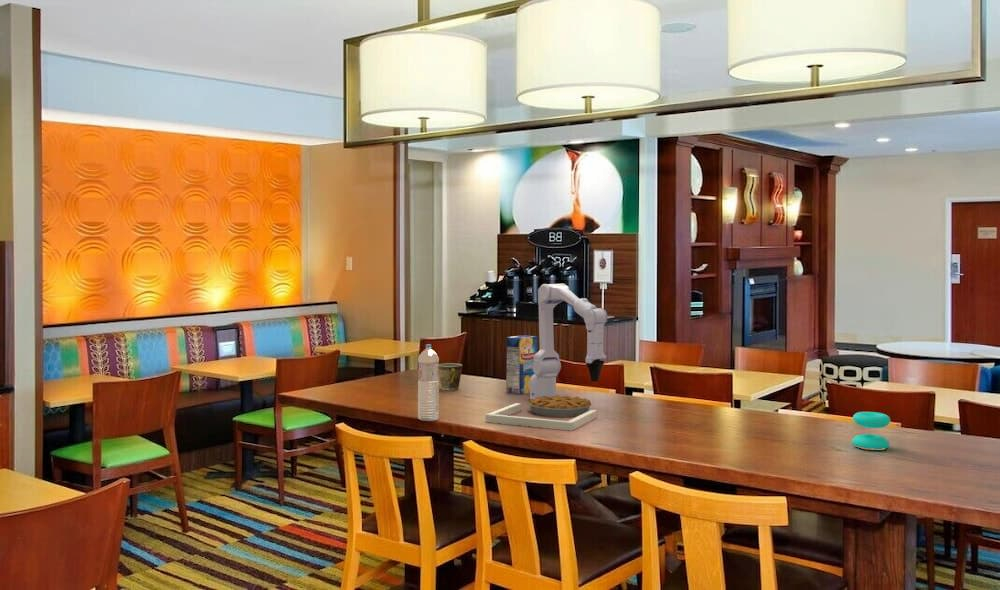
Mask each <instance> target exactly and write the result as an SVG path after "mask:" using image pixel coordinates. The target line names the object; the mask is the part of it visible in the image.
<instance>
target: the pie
mask: <svg viewBox="0 0 1000 590" xmlns="http://www.w3.org/2000/svg"><path fill="white" fill-rule="evenodd" d="M527 405H528V406H529V407H530V409H531V412H532V413H533V412H534V413H533V414H535V413H536V415H539V414H540V415H539V416H543V415H544V416H545V417H550V416H551V418H552V417H553V418H572V417H573V418H575V417H578V416H580V415H582V414H584V413H586V412H588V411H590V410H589V409H590V407H592V405H593V404H592V401H590V399H587V398H580V397H579V396H569V395H564V396H563V395H556V396H552V397H548V396H543V397H536V398H535V399H529V400H528V402H527ZM544 416H543V417H544Z"/></svg>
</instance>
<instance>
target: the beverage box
mask: <svg viewBox="0 0 1000 590" xmlns="http://www.w3.org/2000/svg"><path fill="white" fill-rule="evenodd" d="M537 352H538V336H537V335H525V334H524V335H515V336H506V358H505V359H506V360H505V361H506V363H505V365H506V369H505V372H506V377H505V379H506V381H505V382H506V385H505V387H506V388H505V389H506V391H505V393H506V394H512V395H524V394H530V380H531V377H532V376H533V375H535V373H534V372H533V368H532V365H533V361H534V355H535V354H536V353H537Z"/></svg>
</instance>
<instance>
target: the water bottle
mask: <svg viewBox="0 0 1000 590" xmlns="http://www.w3.org/2000/svg"><path fill="white" fill-rule="evenodd" d="M439 360H440V357H439V356H438V354H437V353H436V352H435V350H433V349H432V344H430V343H429V344H427V343H426V344H425V349H423V351H421V353H420V354H419V355H418V358H417V362H418V366H417V367H418V371H417V372H418V374H417V375H418V379H417V380H418V381H417V385H418V386H417V418H418V420H420V421H422V422H435V421H437V420H438V419H439V413H440V412H439V406H440V405H439V404H440V403H439V399H440V398H439V393H440V392H439V388H440V387H439V382H440V380H439V372H438V364H439Z"/></svg>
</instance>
